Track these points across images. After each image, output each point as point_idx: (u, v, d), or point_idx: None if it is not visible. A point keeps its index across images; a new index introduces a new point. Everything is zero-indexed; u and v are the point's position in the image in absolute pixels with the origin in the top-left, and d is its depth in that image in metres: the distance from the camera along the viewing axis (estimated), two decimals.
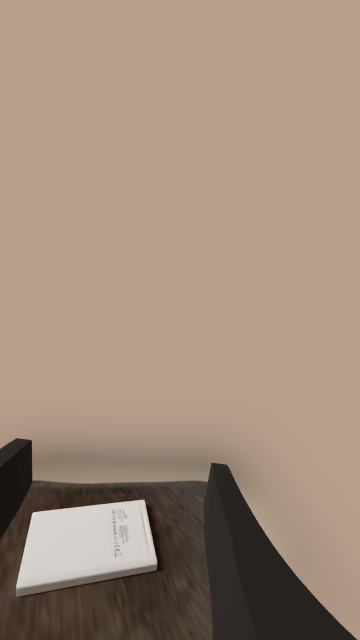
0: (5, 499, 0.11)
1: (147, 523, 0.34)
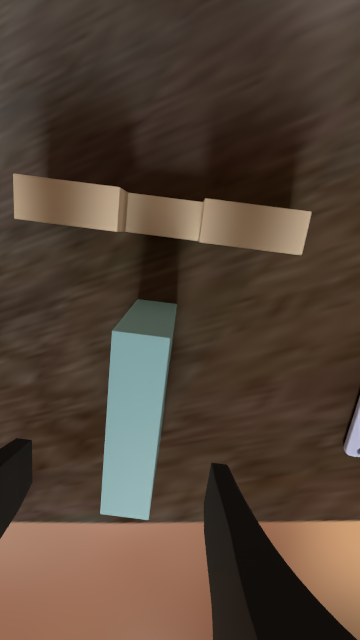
0: (5, 499, 0.11)
1: None
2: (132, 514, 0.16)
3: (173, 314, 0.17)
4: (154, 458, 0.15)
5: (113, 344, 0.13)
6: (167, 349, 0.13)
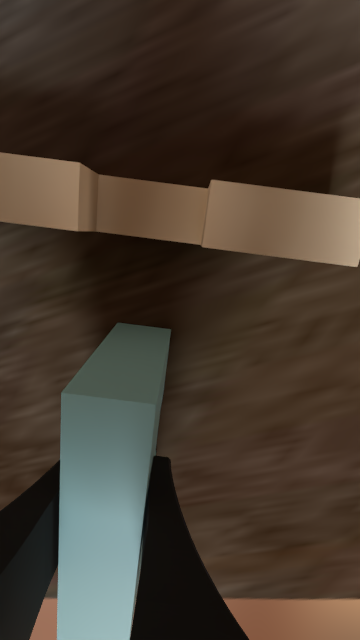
0: None
1: None
2: None
3: (165, 349, 0.12)
4: (134, 575, 0.10)
5: (64, 413, 0.08)
6: (151, 421, 0.08)
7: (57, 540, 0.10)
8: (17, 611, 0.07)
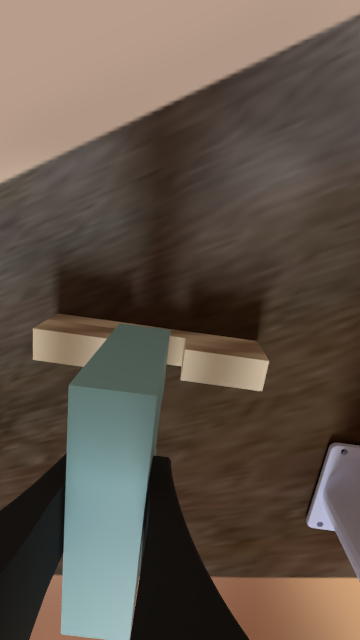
0: None
1: None
2: (106, 635, 0.11)
3: (165, 348, 0.12)
4: (136, 562, 0.10)
5: (71, 404, 0.09)
6: (153, 412, 0.09)
7: (57, 540, 0.10)
8: (17, 611, 0.07)
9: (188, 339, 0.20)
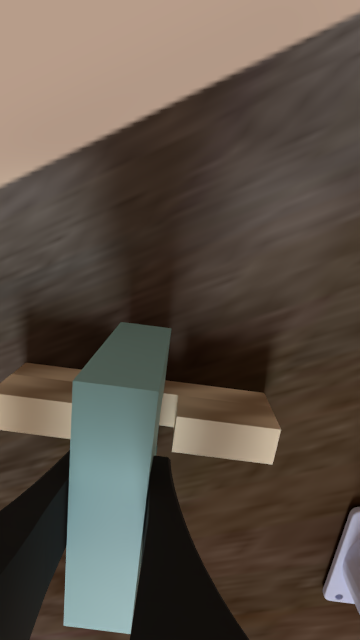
0: None
1: None
2: (108, 626, 0.11)
3: (165, 345, 0.13)
4: (137, 555, 0.10)
5: (75, 400, 0.09)
6: (154, 407, 0.09)
7: (57, 540, 0.10)
8: (17, 611, 0.07)
9: (181, 397, 0.16)
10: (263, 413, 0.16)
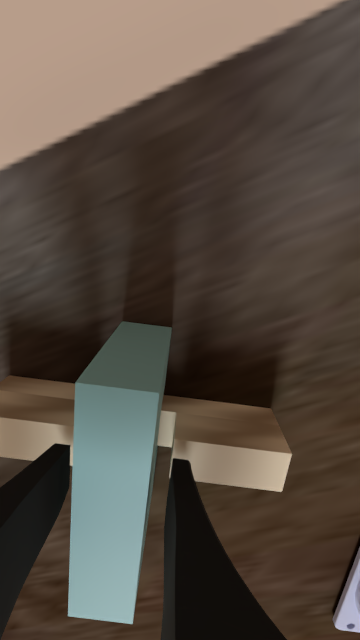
0: (49, 504, 0.11)
1: None
2: (111, 617, 0.12)
3: (166, 345, 0.13)
4: (139, 549, 0.11)
5: (77, 401, 0.09)
6: (155, 408, 0.09)
7: (33, 537, 0.10)
8: None
9: (180, 415, 0.15)
10: (271, 433, 0.14)
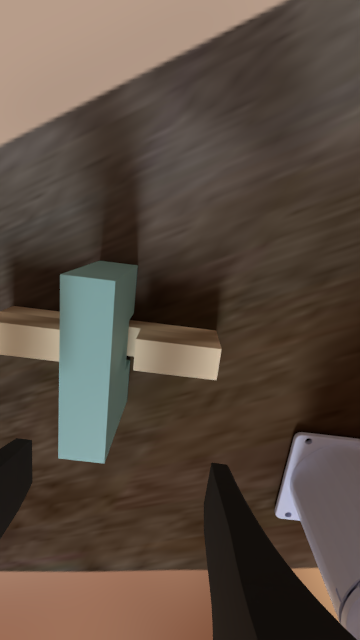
0: (5, 499, 0.11)
1: None
2: (89, 458, 0.17)
3: (129, 270, 0.18)
4: (106, 401, 0.16)
5: (62, 288, 0.14)
6: (113, 292, 0.14)
7: None
8: None
9: (143, 329, 0.20)
10: (210, 340, 0.19)
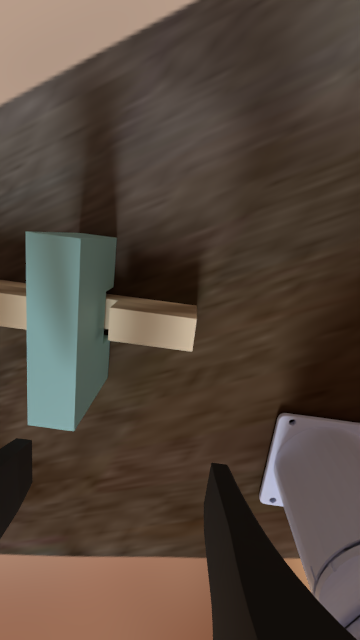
0: (5, 499, 0.11)
1: None
2: (58, 425, 0.16)
3: (104, 237, 0.18)
4: (74, 365, 0.15)
5: (27, 245, 0.14)
6: (78, 250, 0.14)
7: None
8: None
9: (120, 301, 0.19)
10: (187, 312, 0.19)
